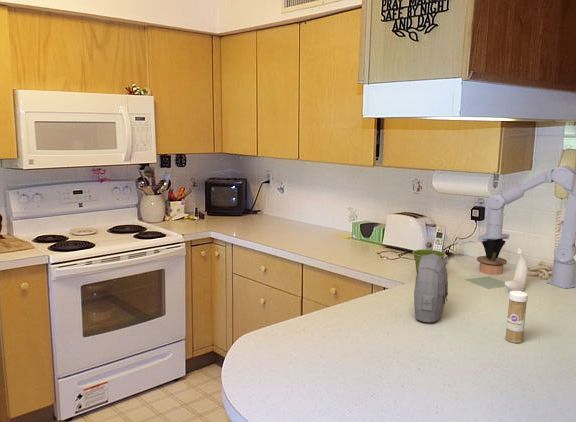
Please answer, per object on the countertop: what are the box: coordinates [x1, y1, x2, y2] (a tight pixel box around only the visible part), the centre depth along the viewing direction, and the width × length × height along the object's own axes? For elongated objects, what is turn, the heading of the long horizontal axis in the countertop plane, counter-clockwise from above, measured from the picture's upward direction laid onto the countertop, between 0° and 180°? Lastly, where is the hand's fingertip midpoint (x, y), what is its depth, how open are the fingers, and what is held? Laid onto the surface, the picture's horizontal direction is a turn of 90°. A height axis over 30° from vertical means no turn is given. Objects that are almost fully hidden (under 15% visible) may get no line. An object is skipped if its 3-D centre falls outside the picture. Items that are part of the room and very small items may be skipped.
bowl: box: [479, 262, 504, 276], centre depth 205 cm, size 8×8×4 cm
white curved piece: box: [504, 247, 529, 292], centre depth 180 cm, size 5×19×15 cm, turn 146°
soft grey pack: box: [413, 254, 449, 323], centre depth 152 cm, size 15×8×20 cm, turn 152°
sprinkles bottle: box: [504, 291, 529, 344], centre depth 138 cm, size 5×5×14 cm
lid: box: [476, 251, 508, 266], centre depth 204 cm, size 11×11×4 cm
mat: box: [464, 276, 506, 290], centre depth 191 cm, size 12×12×1 cm
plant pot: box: [412, 248, 447, 273], centre depth 190 cm, size 12×12×11 cm
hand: (492, 257), depth 204 cm, fingers closed on lid, 3 cm apart
